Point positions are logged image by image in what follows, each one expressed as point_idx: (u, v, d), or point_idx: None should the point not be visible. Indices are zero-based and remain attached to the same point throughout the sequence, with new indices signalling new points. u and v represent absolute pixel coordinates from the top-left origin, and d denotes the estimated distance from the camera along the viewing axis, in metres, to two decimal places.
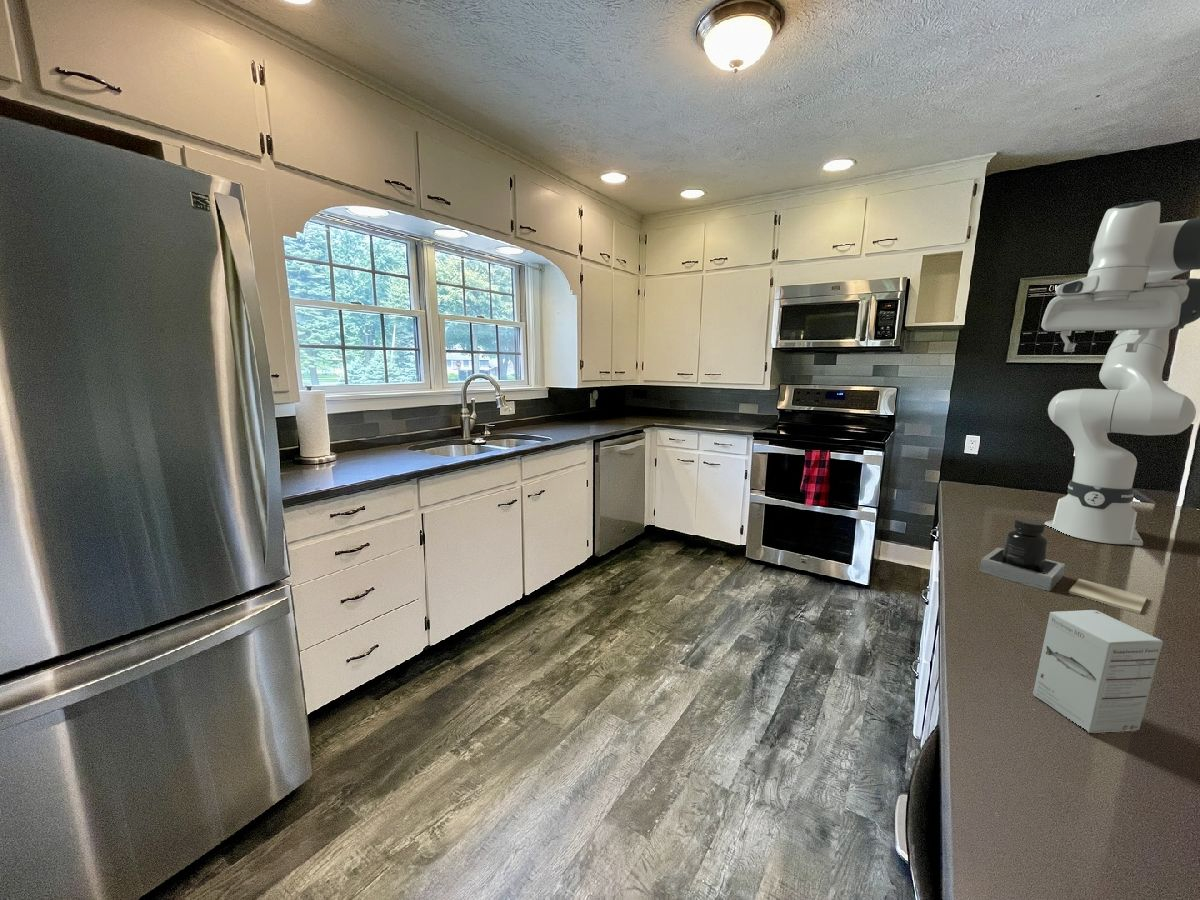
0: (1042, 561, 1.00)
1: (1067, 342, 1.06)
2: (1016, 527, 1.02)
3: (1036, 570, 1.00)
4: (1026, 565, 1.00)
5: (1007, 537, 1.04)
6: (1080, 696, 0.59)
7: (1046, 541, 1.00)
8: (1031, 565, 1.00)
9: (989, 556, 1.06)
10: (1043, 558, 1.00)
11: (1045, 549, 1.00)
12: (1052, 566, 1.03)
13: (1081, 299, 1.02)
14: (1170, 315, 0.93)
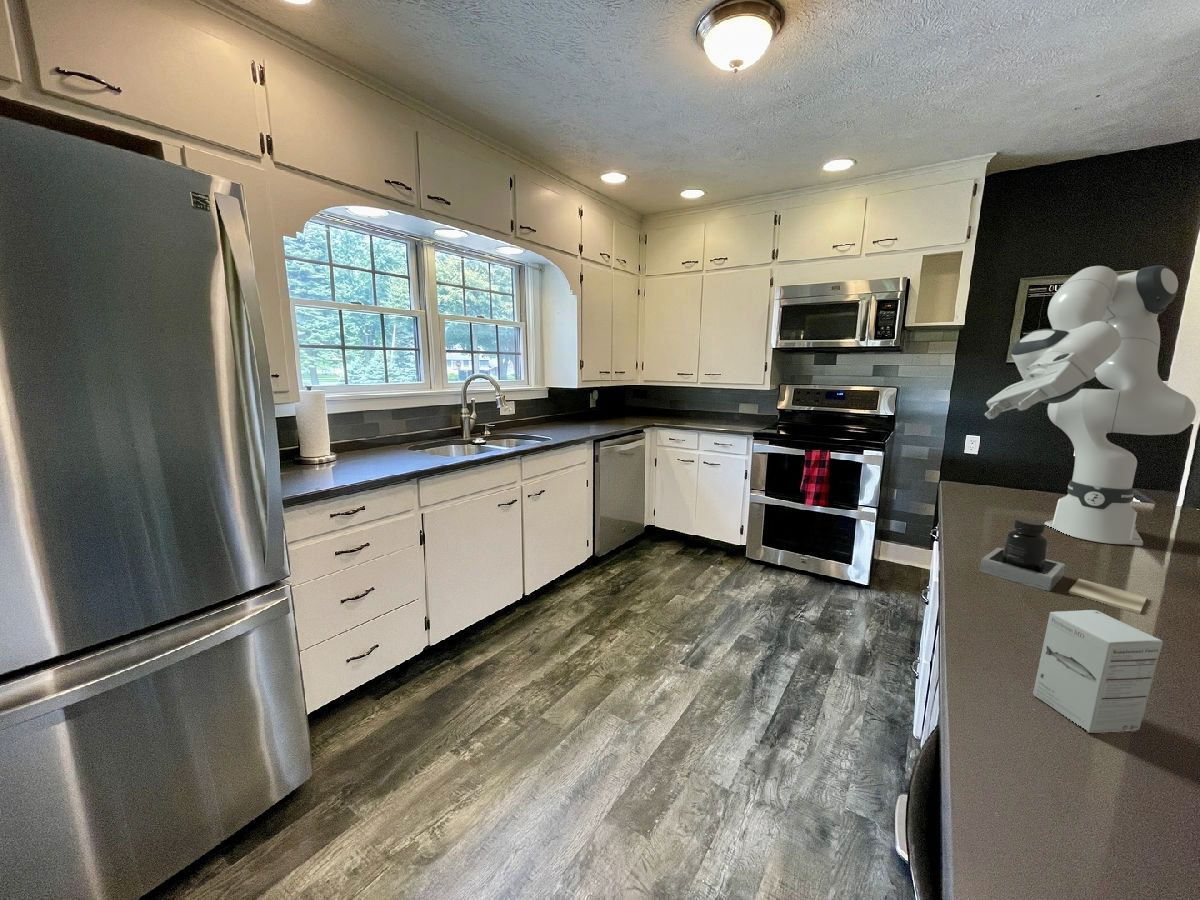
0: (1042, 561, 1.00)
1: None
2: (1016, 527, 1.02)
3: (1036, 570, 1.00)
4: (1026, 565, 1.00)
5: (1007, 537, 1.04)
6: (1080, 696, 0.59)
7: (1046, 541, 1.00)
8: (1031, 565, 1.00)
9: (989, 556, 1.06)
10: (1043, 558, 1.00)
11: (1045, 549, 1.00)
12: (1052, 566, 1.03)
13: None
14: None
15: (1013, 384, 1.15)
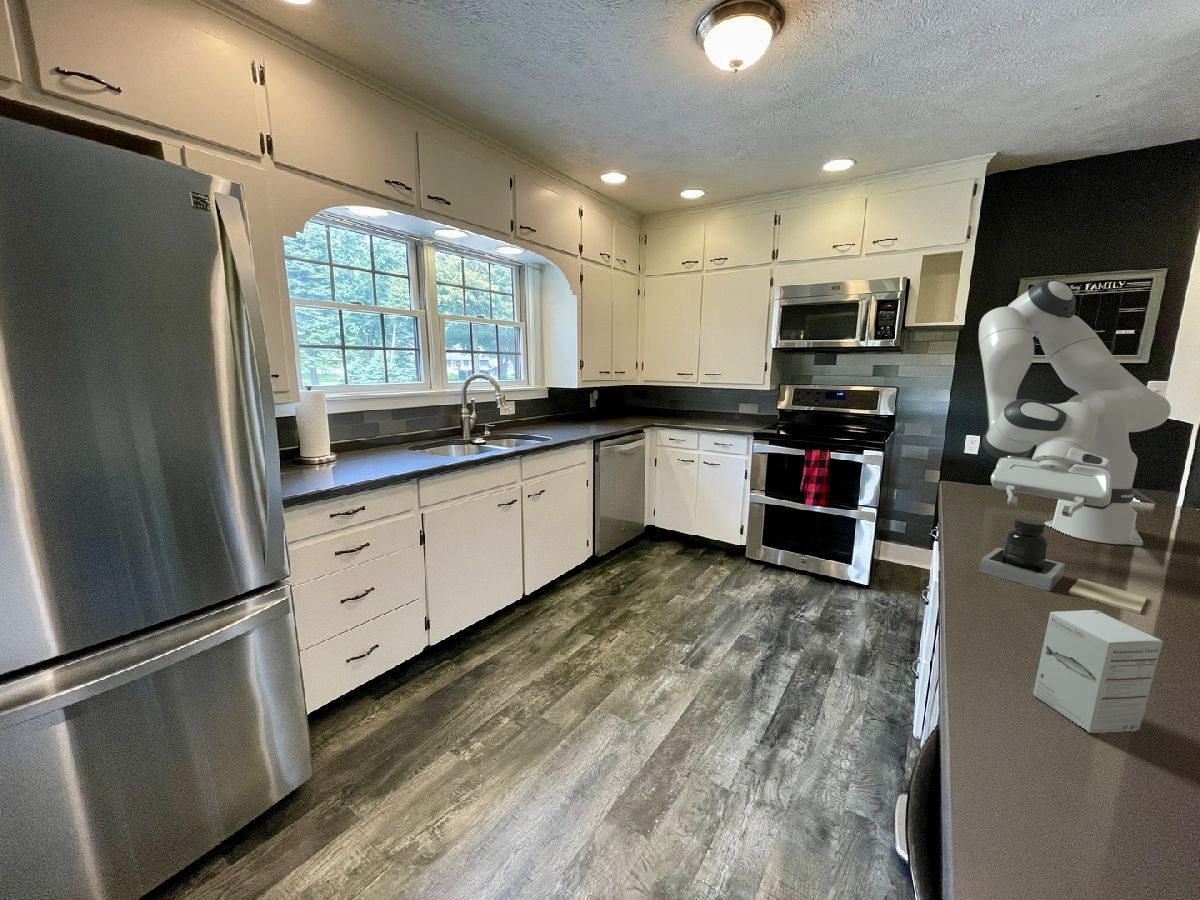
0: (1042, 561, 1.00)
1: None
2: (1016, 527, 1.02)
3: (1036, 570, 1.00)
4: (1026, 565, 1.00)
5: (1007, 537, 1.04)
6: (1080, 696, 0.59)
7: (1046, 541, 1.00)
8: (1031, 565, 1.00)
9: (989, 556, 1.06)
10: (1043, 558, 1.00)
11: (1045, 549, 1.00)
12: (1052, 566, 1.03)
13: None
14: None
15: (1015, 461, 1.14)
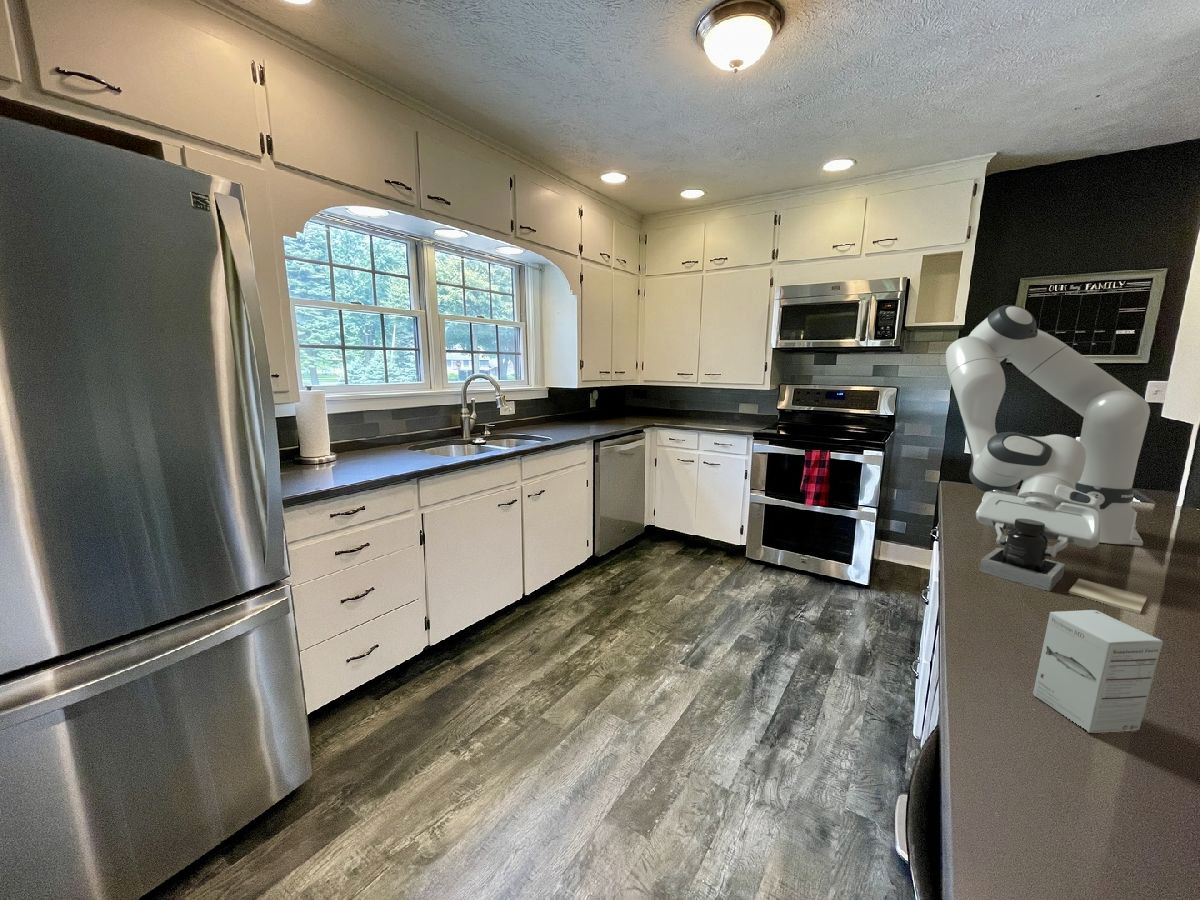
0: (1042, 561, 1.00)
1: None
2: (1016, 527, 1.02)
3: (1036, 570, 1.00)
4: (1026, 565, 1.00)
5: (1007, 537, 1.04)
6: (1080, 696, 0.59)
7: (1046, 541, 1.00)
8: (1031, 565, 1.00)
9: (989, 556, 1.06)
10: (1043, 558, 1.00)
11: (1045, 549, 1.00)
12: (1052, 566, 1.03)
13: None
14: None
15: (1001, 496, 1.10)
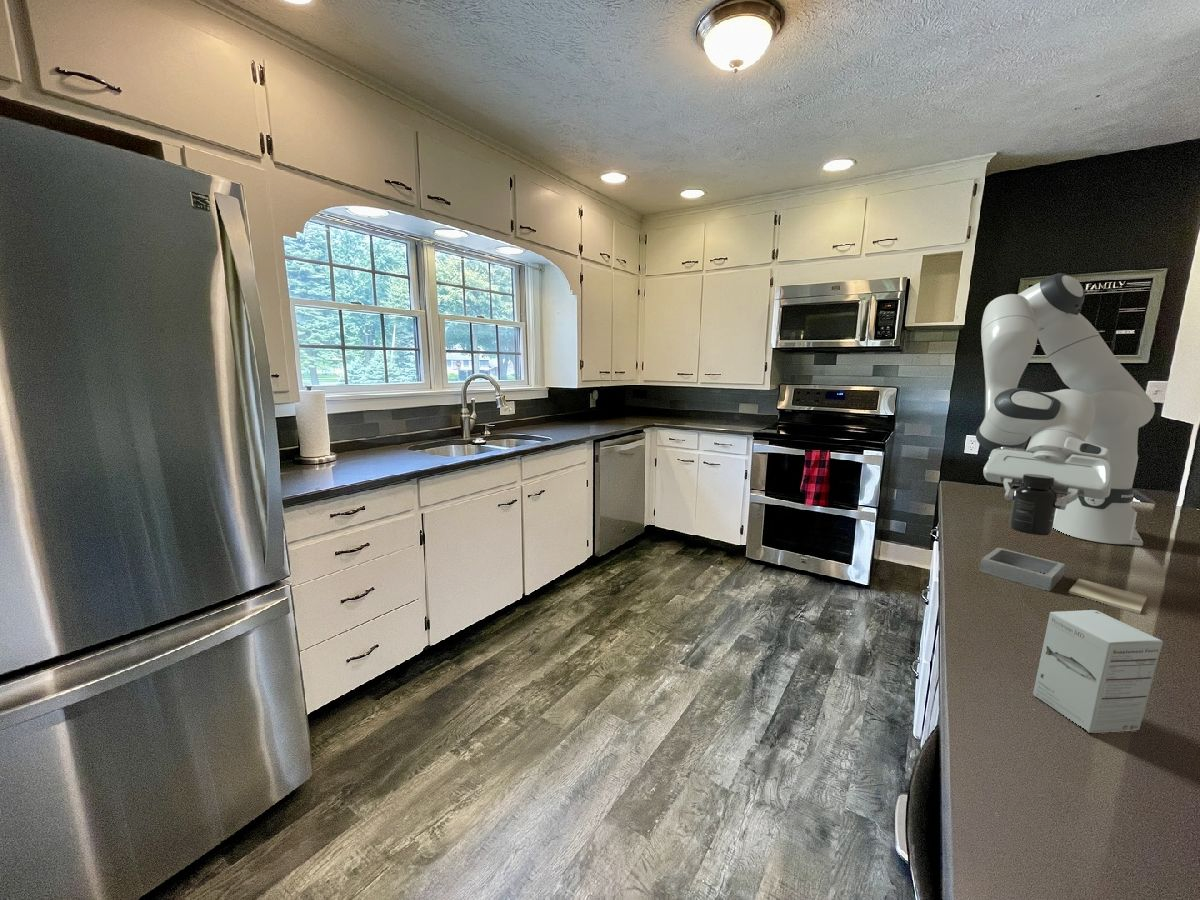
0: (1052, 515, 0.98)
1: None
2: (1024, 482, 1.00)
3: (1046, 525, 0.98)
4: (1035, 520, 0.98)
5: (1015, 493, 1.02)
6: (1080, 696, 0.59)
7: (1055, 494, 0.98)
8: (1040, 519, 0.98)
9: (989, 556, 1.06)
10: (1053, 512, 0.98)
11: None
12: (1052, 566, 1.03)
13: None
14: None
15: (1009, 452, 1.08)
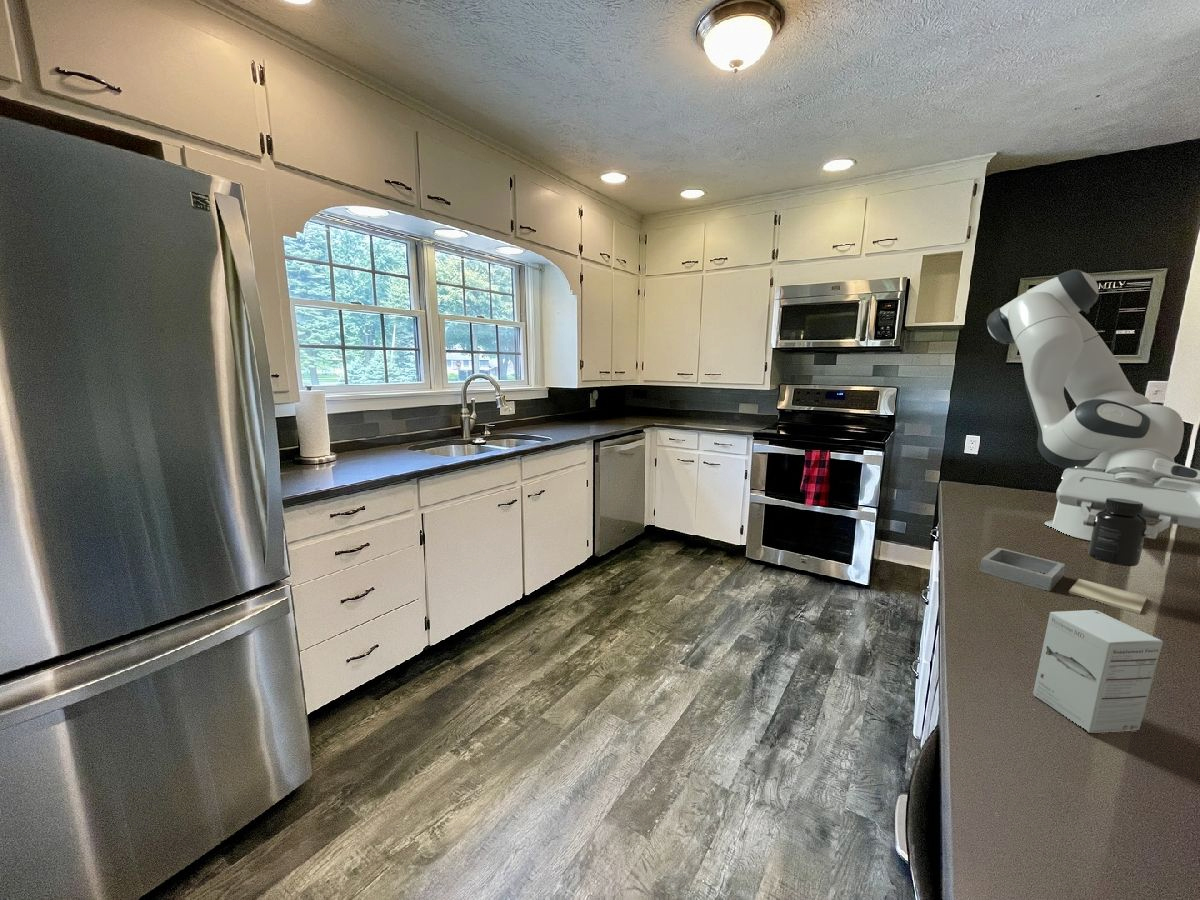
0: (1140, 544, 0.89)
1: None
2: (1108, 507, 0.92)
3: (1134, 555, 0.89)
4: (1122, 549, 0.90)
5: (1097, 518, 0.93)
6: (1080, 696, 0.59)
7: (1145, 522, 0.89)
8: (1128, 549, 0.89)
9: (989, 556, 1.06)
10: (1142, 541, 0.89)
11: (1144, 531, 0.89)
12: (1052, 566, 1.03)
13: None
14: None
15: (1086, 473, 0.99)
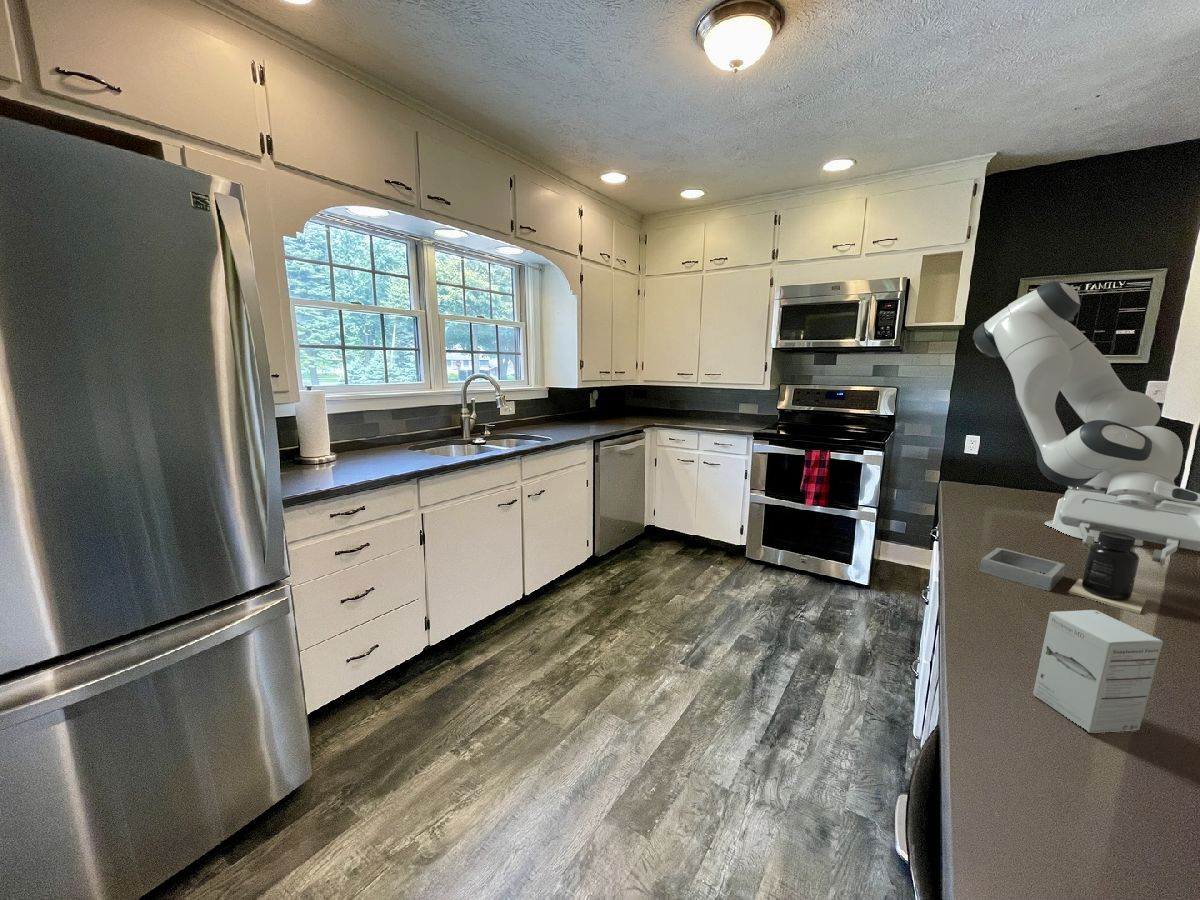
0: (1133, 579, 0.90)
1: None
2: (1101, 541, 0.93)
3: (1126, 589, 0.90)
4: (1114, 584, 0.91)
5: (1090, 552, 0.94)
6: (1080, 696, 0.59)
7: (1137, 557, 0.90)
8: (1120, 583, 0.90)
9: (989, 556, 1.06)
10: (1134, 576, 0.90)
11: (1136, 566, 0.90)
12: (1052, 566, 1.03)
13: None
14: None
15: (1087, 494, 1.00)
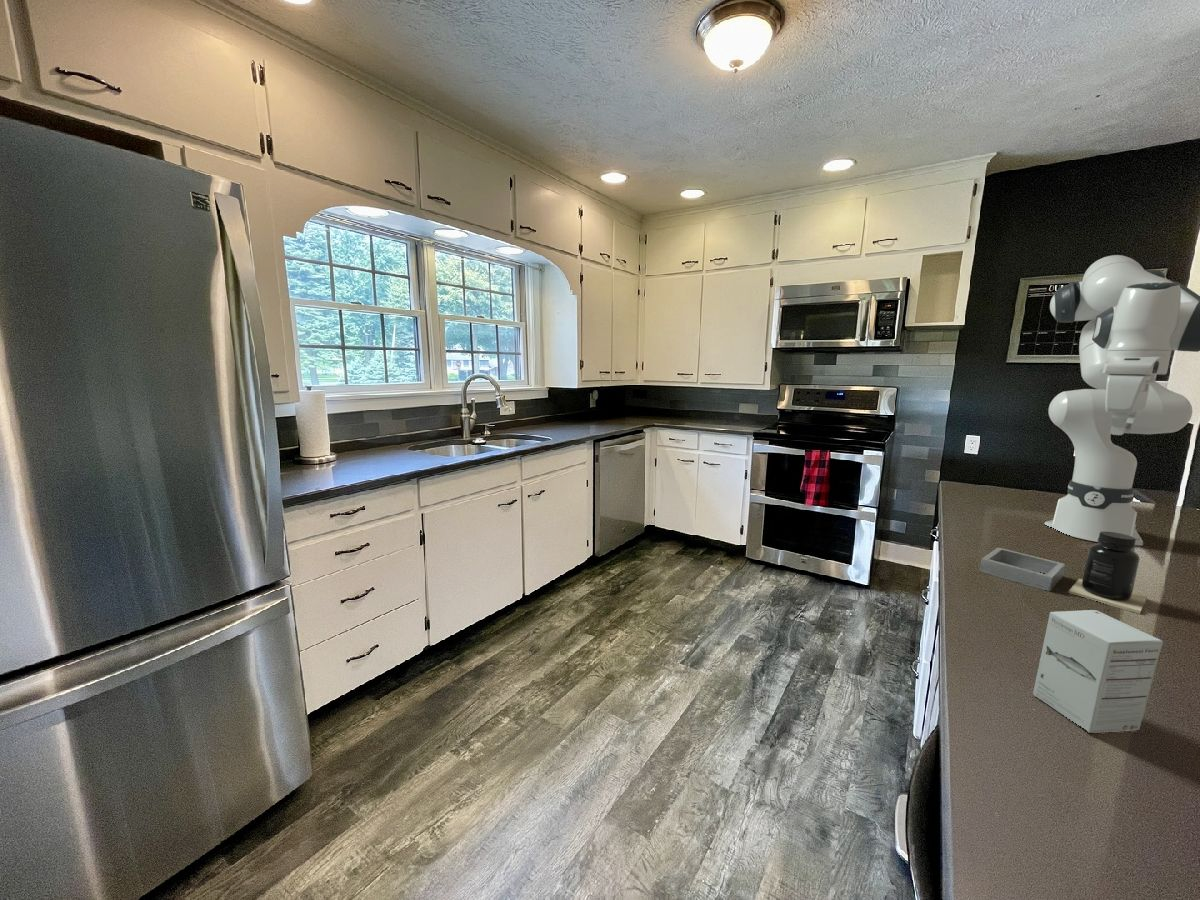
0: (1133, 579, 0.90)
1: (1125, 425, 0.95)
2: (1102, 541, 0.93)
3: (1127, 589, 0.90)
4: (1114, 584, 0.91)
5: (1091, 552, 0.94)
6: (1080, 696, 0.59)
7: (1137, 557, 0.90)
8: (1120, 583, 0.90)
9: (989, 556, 1.06)
10: (1134, 576, 0.90)
11: (1136, 566, 0.90)
12: (1052, 566, 1.03)
13: (1147, 380, 0.93)
14: (1147, 397, 1.02)
15: None
